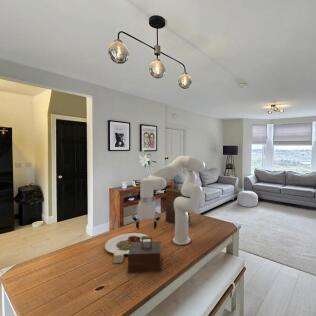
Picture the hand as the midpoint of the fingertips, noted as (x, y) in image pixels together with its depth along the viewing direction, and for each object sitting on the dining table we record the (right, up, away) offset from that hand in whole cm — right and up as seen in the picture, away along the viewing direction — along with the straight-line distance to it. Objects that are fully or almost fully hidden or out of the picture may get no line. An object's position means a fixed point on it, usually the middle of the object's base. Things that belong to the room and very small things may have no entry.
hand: (146, 228), depth 114 cm
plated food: (-16, -18, +18) cm, 30 cm away
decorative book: (+14, -17, +61) cm, 65 cm away
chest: (0, -19, -4) cm, 19 cm away
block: (-16, -19, -1) cm, 25 cm away
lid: (0, -10, -4) cm, 11 cm away
